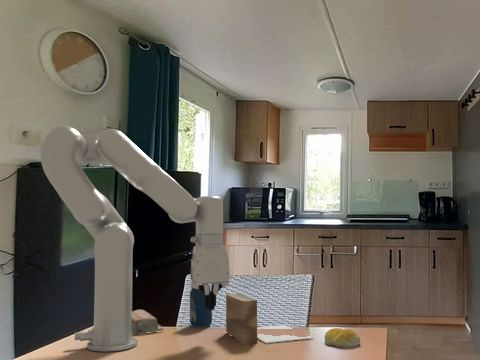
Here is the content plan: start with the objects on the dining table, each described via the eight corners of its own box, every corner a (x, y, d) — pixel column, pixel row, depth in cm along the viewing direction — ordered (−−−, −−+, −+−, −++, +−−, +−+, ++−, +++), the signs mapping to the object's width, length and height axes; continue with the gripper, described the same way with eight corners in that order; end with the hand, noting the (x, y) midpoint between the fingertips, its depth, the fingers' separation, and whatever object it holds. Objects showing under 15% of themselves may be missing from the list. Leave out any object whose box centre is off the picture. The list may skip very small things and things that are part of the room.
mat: (265, 343, 119) (265, 342, 119) (241, 330, 136) (241, 328, 136) (313, 339, 124) (313, 337, 124) (284, 326, 141) (284, 325, 141)
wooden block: (243, 344, 119) (242, 301, 120) (226, 333, 132) (226, 294, 133) (257, 343, 120) (256, 300, 122) (239, 332, 133) (238, 293, 135)
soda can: (214, 323, 145) (214, 285, 147) (208, 328, 139) (208, 288, 140) (194, 323, 147) (194, 285, 148) (186, 327, 140) (186, 287, 142)
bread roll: (336, 338, 125) (336, 323, 125) (365, 344, 118) (364, 328, 119) (317, 343, 120) (316, 328, 120) (345, 350, 113) (345, 333, 113)
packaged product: (164, 316, 135) (130, 319, 131) (164, 333, 134) (130, 337, 130) (149, 307, 151) (119, 310, 147) (149, 322, 151) (118, 325, 147)
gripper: (186, 242, 120) (186, 313, 118) (239, 240, 125) (240, 309, 123) (179, 241, 127) (180, 309, 125) (230, 240, 132) (231, 305, 130)
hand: (210, 309), depth 124 cm, fingers closed
